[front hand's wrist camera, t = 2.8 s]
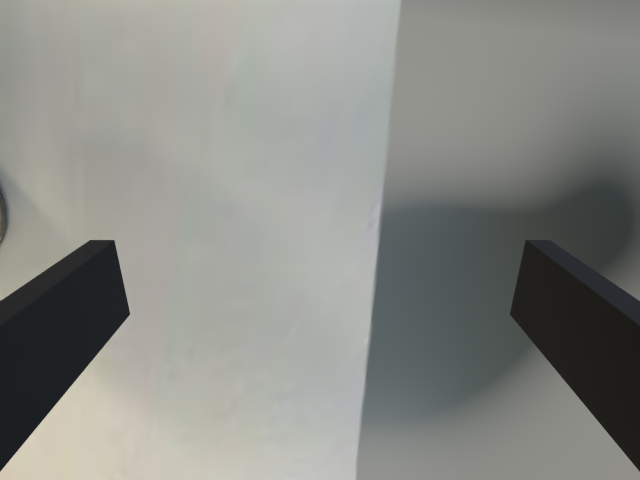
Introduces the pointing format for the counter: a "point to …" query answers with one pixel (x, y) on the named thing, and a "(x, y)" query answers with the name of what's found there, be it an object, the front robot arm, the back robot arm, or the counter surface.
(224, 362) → the counter surface
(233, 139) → the counter surface
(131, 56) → the counter surface
